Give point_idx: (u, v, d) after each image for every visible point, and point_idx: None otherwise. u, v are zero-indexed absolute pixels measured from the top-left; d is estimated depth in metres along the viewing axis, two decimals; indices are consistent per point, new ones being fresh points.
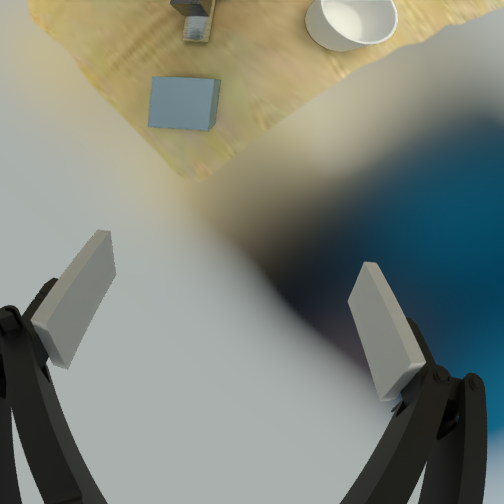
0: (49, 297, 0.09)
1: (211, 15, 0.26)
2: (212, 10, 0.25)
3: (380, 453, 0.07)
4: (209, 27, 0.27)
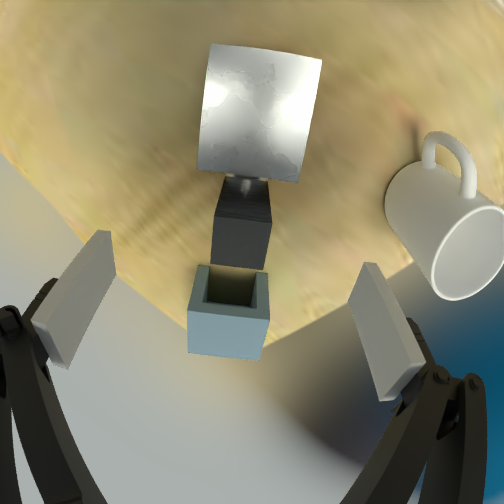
0: (49, 297, 0.09)
1: None
2: None
3: (380, 453, 0.07)
4: None
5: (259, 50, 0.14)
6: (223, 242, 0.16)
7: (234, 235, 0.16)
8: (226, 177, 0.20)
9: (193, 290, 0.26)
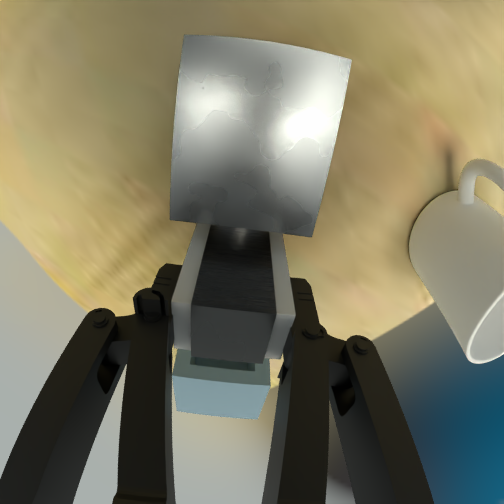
0: (182, 279, 0.11)
1: None
2: None
3: (278, 429, 0.08)
4: None
5: (257, 42, 0.09)
6: (206, 335, 0.11)
7: (222, 327, 0.11)
8: None
9: None
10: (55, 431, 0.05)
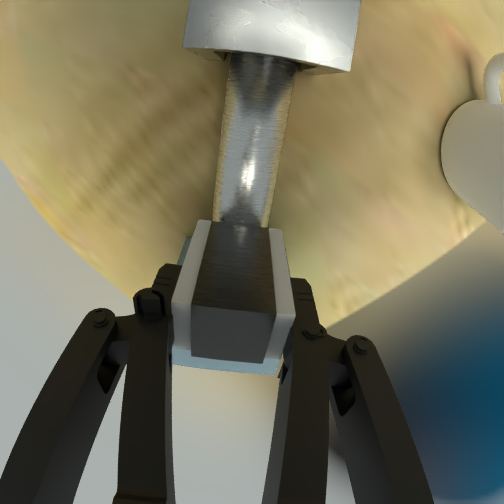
0: (182, 279, 0.11)
1: None
2: None
3: (278, 429, 0.08)
4: None
5: None
6: (207, 335, 0.11)
7: (222, 327, 0.11)
8: (213, 223, 0.15)
9: None
10: (55, 431, 0.05)
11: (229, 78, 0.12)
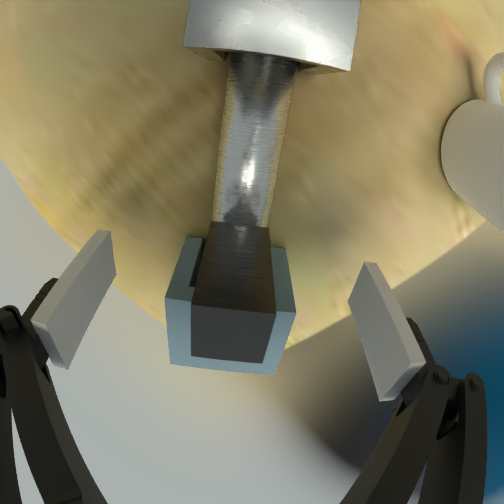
0: (49, 297, 0.09)
1: None
2: None
3: (380, 453, 0.07)
4: None
5: None
6: (206, 335, 0.11)
7: (222, 327, 0.11)
8: (213, 223, 0.15)
9: (176, 269, 0.17)
10: None
11: (229, 78, 0.12)
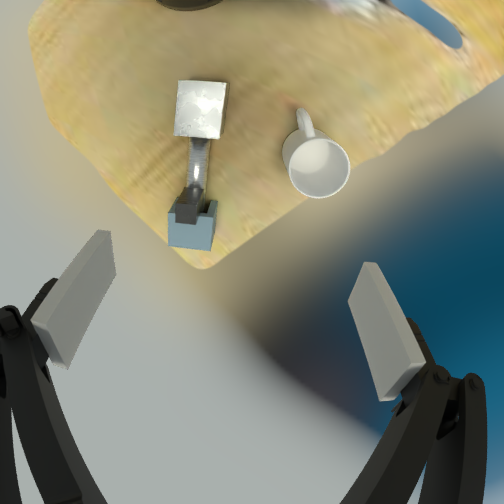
0: (49, 297, 0.09)
1: (204, 200, 0.47)
2: (204, 197, 0.46)
3: (380, 453, 0.07)
4: (203, 210, 0.48)
5: (199, 81, 0.34)
6: (179, 213, 0.40)
7: (183, 210, 0.39)
8: (185, 187, 0.44)
9: (172, 205, 0.46)
10: None
11: (189, 139, 0.41)
